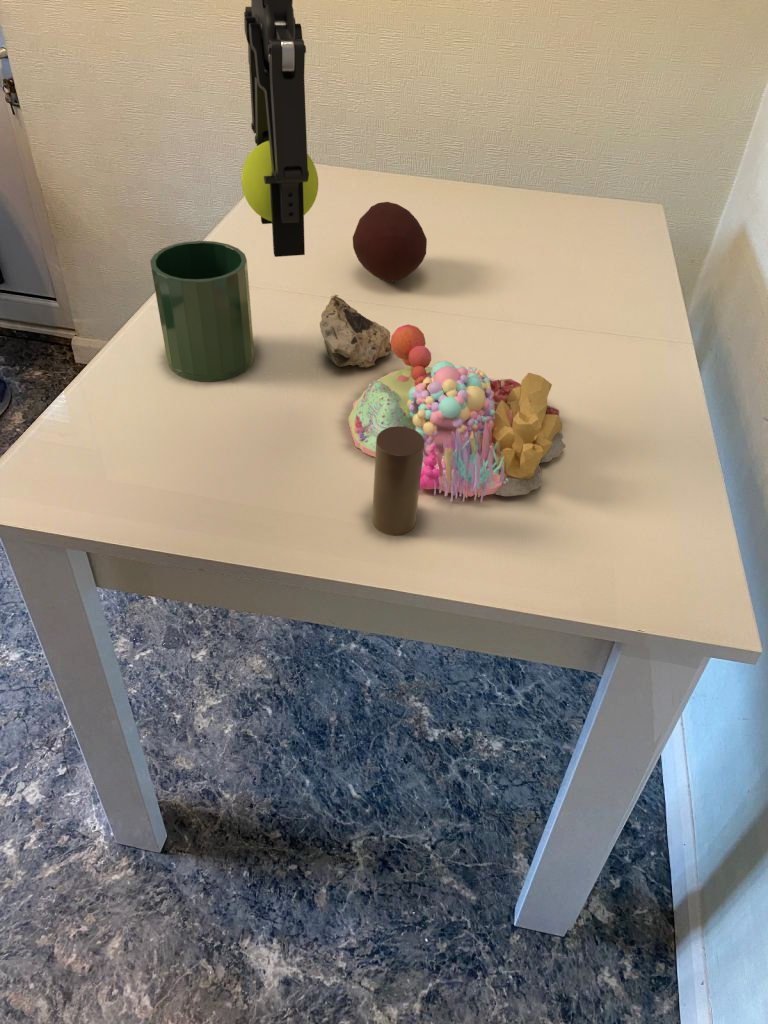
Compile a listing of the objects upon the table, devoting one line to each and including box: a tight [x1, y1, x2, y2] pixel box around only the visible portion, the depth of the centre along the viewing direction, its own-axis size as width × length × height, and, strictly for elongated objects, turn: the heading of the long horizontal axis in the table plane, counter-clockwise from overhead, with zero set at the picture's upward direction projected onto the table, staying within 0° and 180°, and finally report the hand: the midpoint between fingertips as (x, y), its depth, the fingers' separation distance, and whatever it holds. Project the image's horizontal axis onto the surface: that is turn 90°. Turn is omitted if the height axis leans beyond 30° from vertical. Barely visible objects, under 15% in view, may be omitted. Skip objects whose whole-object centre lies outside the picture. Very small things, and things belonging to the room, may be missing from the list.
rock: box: [319, 294, 392, 368], centre depth 94 cm, size 9×7×10 cm
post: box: [371, 426, 424, 536], centre depth 70 cm, size 4×4×10 cm
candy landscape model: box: [347, 324, 566, 503], centre depth 82 cm, size 25×24×9 cm
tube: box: [149, 240, 255, 382], centre depth 89 cm, size 11×11×13 cm
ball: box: [240, 141, 319, 221], centre depth 66 cm, size 7×7×7 cm
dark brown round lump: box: [352, 201, 428, 282], centre depth 110 cm, size 11×13×10 cm
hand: (282, 236), depth 69 cm, fingers closed on ball, 7 cm apart
